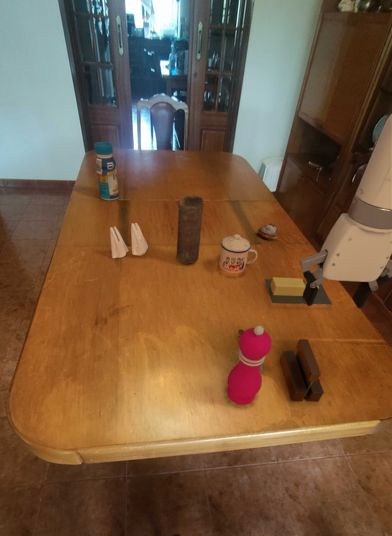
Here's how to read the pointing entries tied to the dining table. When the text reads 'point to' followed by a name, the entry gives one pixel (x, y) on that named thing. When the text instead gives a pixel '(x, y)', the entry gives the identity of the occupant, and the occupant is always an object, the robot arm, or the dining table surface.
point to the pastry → (268, 232)
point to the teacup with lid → (235, 254)
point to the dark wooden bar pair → (298, 380)
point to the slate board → (319, 299)
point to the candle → (189, 228)
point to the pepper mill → (248, 366)
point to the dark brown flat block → (307, 363)
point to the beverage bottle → (106, 171)
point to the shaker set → (119, 246)
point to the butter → (287, 286)
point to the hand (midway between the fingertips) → (332, 302)
